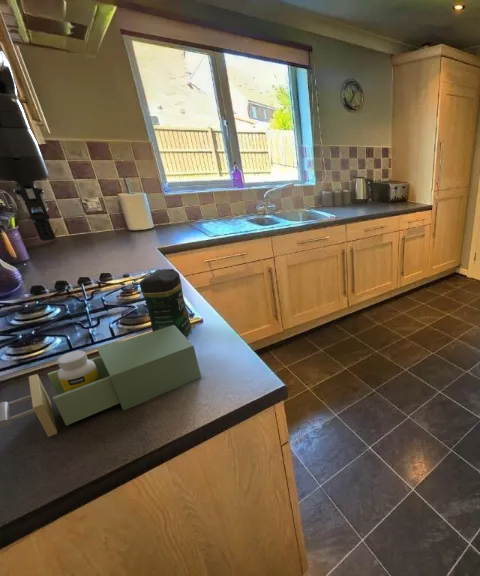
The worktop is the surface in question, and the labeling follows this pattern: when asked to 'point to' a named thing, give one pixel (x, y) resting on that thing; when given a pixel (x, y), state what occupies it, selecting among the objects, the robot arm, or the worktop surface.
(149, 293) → the coffee jar
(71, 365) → the supplement bottle
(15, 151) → the robot arm
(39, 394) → the drawer
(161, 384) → the cabinet
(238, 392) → the worktop surface
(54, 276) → the worktop surface
